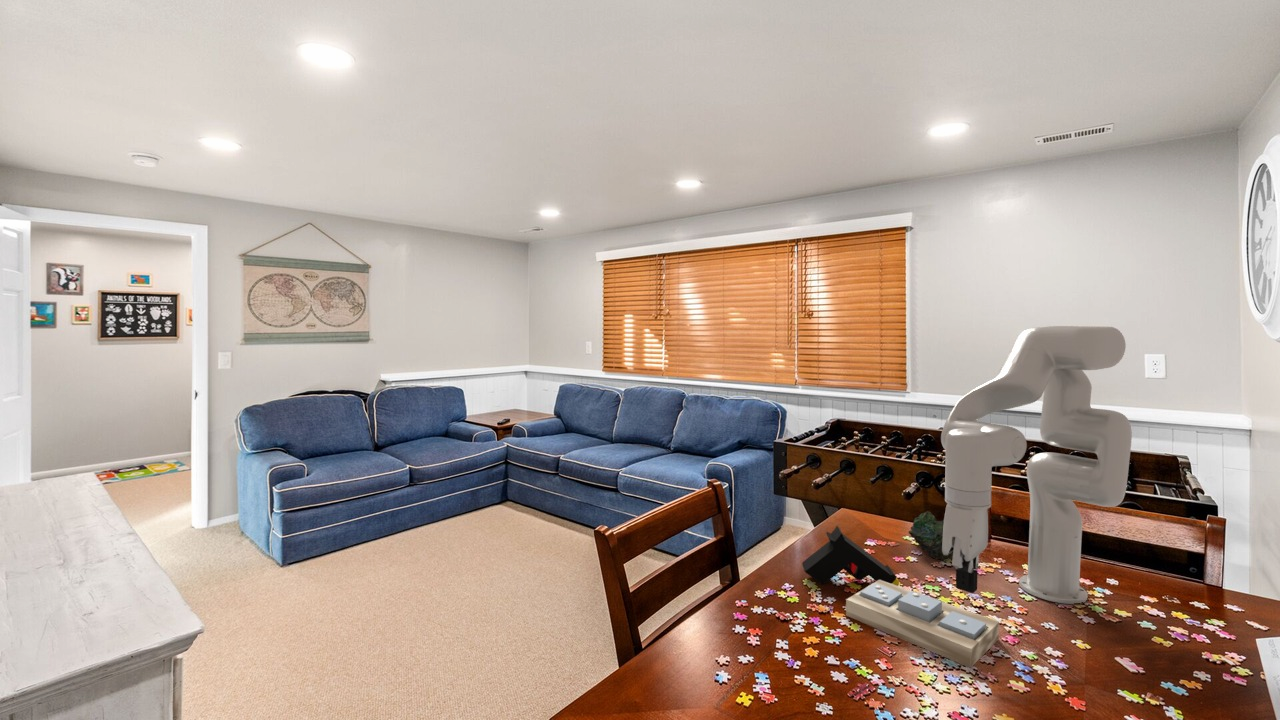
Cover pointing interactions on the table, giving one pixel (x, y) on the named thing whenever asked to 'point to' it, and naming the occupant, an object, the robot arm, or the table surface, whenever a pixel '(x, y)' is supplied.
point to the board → (924, 627)
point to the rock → (929, 535)
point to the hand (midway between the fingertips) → (966, 589)
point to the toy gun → (845, 561)
